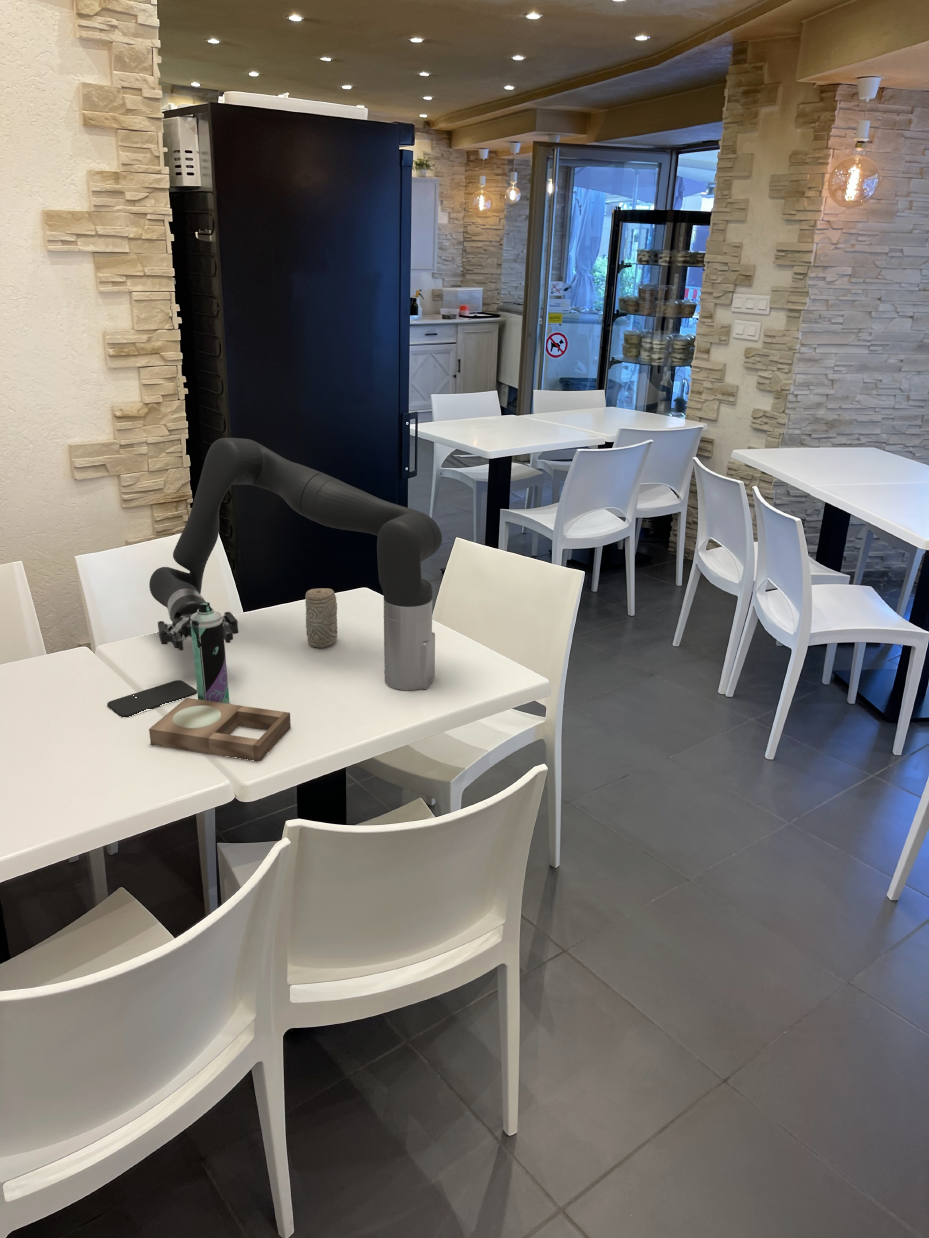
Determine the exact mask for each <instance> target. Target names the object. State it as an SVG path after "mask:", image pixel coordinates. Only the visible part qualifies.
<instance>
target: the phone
mask: <svg viewBox="0 0 929 1238" xmlns="http://www.w3.org/2000/svg"><path fill="white" fill-rule="evenodd" d="M196 694H197V688H195V687H193V686H191V685H190V684H188V683H186V682H185V681H183V680H180V679H178V680H177V679H175V680H173V681H169V682H167V683H163V684H160V685H157V686H154V687H151V688H150V687H149V688H147V689H145V690H140V691H138V692H135V693H131V694H128V695H125V696H122V697H119V698H116V699H113V700H110V701H107V703H106V706H108V707H109V708H110V710H111V709H112V710H113V711H114V712H113V711H112V710H111V711H112V712H113V713H115V714H116V713H117V714H118V716H119V717H120V716H121V717H120V718H123V717H127V718H130V717H129V716H131V717H133V716H132V715H134V714H137V713H139V712H141V711H144V710H146V709H152V710H155V709H158V708H161V706H160V705H162V704H165V703H169V702H172V701H175V702H177V701H176V700H178V701H180V700H179V699H181V700H183V699H182V698H184V699H186V697H187V698H191V697H192V695H193V696H195V695H196ZM133 695H134V696H133ZM135 697H137V698H135ZM172 703H173V702H172ZM169 704H170V703H169ZM108 707H107V708H108ZM109 708H108V709H109ZM117 714H116V715H117ZM137 715H138V714H137ZM134 716H135V715H134Z"/></svg>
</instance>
